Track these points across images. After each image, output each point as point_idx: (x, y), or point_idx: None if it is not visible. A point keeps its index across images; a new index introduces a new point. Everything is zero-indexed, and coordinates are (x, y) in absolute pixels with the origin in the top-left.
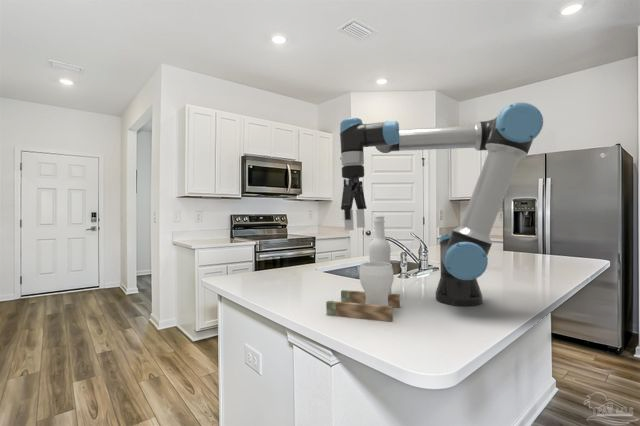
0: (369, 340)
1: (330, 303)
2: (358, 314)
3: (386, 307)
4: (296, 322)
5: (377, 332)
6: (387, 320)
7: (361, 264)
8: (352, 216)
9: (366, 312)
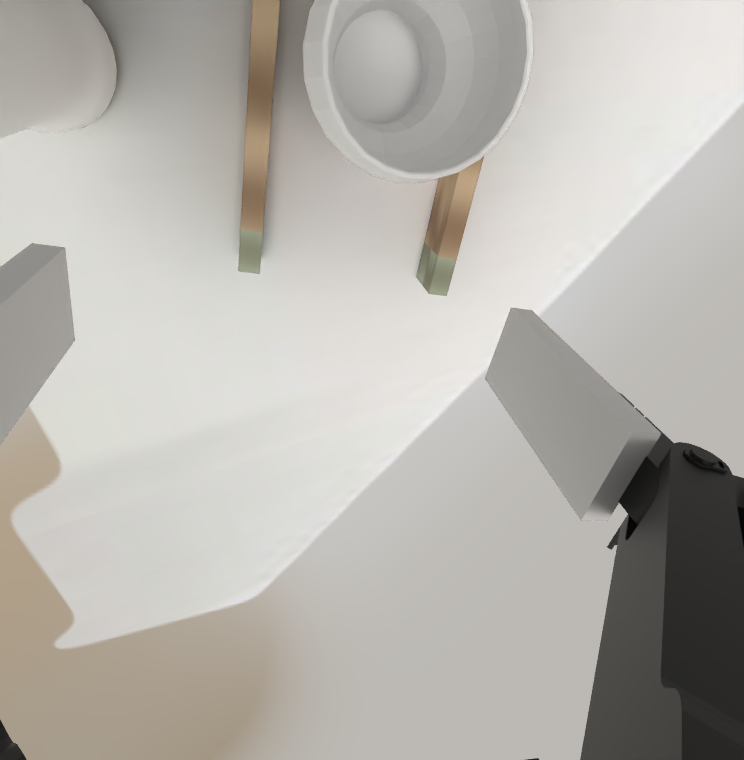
0: (674, 89)
1: (449, 277)
2: None
3: None
4: None
5: (612, 61)
6: None
7: (440, 175)
8: (603, 380)
9: None
